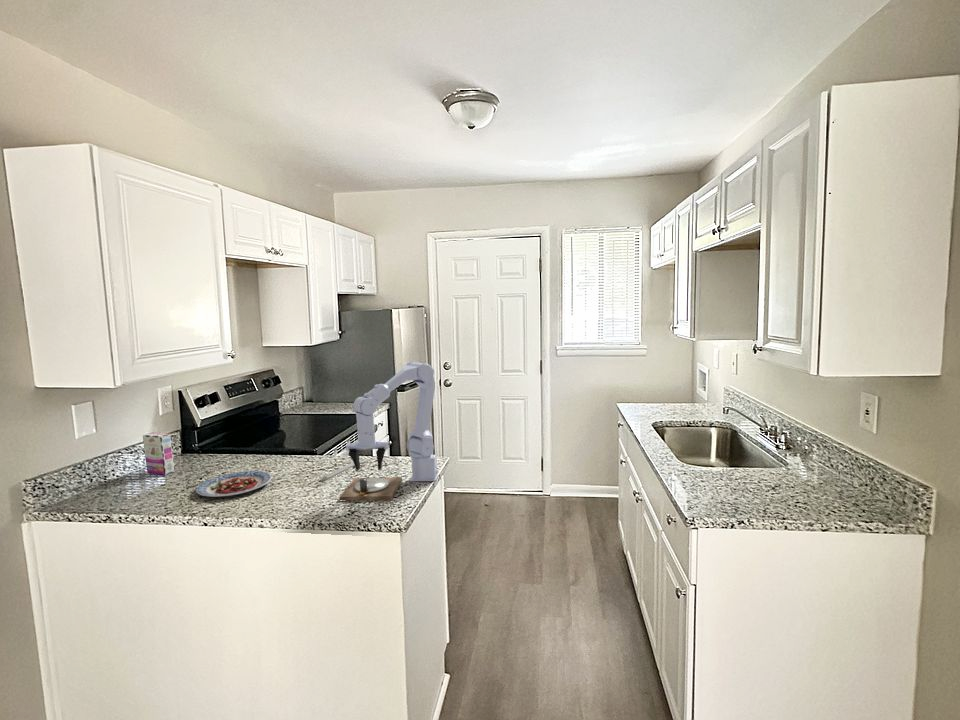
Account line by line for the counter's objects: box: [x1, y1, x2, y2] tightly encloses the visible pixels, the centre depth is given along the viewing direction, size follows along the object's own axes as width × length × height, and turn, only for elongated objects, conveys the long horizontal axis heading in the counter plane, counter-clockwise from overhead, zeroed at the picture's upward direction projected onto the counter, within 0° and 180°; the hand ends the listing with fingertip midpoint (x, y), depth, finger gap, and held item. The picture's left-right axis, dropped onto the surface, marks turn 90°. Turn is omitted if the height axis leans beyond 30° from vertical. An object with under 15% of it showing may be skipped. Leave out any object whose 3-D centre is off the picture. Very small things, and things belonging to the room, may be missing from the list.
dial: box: [355, 477, 389, 495], centre depth 186 cm, size 14×12×5 cm
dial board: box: [339, 476, 403, 501], centre depth 188 cm, size 18×18×2 cm
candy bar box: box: [142, 432, 176, 476], centre depth 217 cm, size 11×5×16 cm, turn 68°
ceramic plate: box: [195, 470, 272, 498], centre depth 197 cm, size 26×26×3 cm
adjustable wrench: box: [320, 457, 369, 482], centre depth 211 cm, size 25×6×2 cm, turn 149°
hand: (369, 469), depth 183 cm, fingers open, 7 cm apart
